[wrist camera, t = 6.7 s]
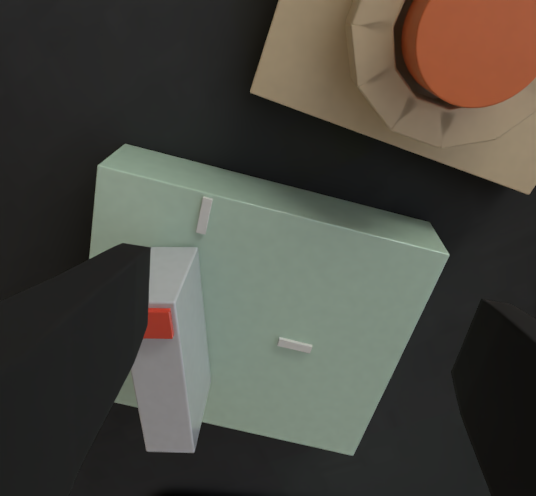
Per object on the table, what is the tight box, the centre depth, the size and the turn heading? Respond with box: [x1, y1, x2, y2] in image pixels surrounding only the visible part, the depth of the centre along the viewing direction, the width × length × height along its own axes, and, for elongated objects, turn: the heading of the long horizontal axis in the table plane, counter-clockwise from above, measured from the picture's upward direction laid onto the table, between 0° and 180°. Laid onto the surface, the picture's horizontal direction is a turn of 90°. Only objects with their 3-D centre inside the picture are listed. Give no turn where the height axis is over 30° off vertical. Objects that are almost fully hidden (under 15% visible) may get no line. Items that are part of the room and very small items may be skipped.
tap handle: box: [131, 247, 211, 453], centre depth 18 cm, size 6×2×4 cm, turn 1°
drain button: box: [401, 0, 536, 108], centre depth 13 cm, size 4×4×2 cm
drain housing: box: [250, 0, 536, 195], centre depth 15 cm, size 11×8×4 cm
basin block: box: [89, 144, 449, 456], centre depth 21 cm, size 14×11×3 cm
